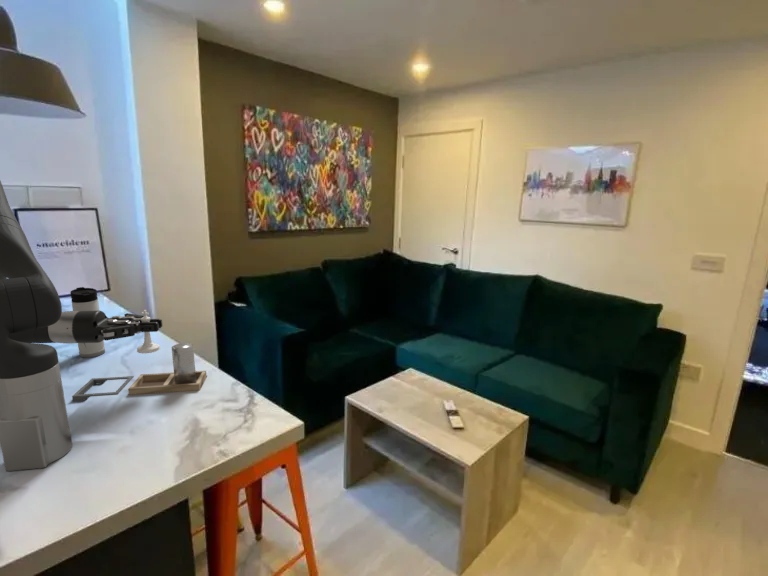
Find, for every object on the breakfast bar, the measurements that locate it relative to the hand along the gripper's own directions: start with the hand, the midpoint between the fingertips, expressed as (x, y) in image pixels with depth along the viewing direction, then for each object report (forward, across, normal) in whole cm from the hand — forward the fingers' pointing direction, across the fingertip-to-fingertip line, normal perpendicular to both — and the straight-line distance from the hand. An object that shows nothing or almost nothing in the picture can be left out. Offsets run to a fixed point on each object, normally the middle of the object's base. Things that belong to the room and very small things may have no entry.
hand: (159, 325), depth 99 cm
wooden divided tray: (+1, 0, +17) cm, 17 cm away
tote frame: (-14, +1, +17) cm, 22 cm away
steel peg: (+5, 0, +16) cm, 16 cm away
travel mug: (-28, +27, +18) cm, 43 cm away
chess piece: (-3, 0, +6) cm, 7 cm away
